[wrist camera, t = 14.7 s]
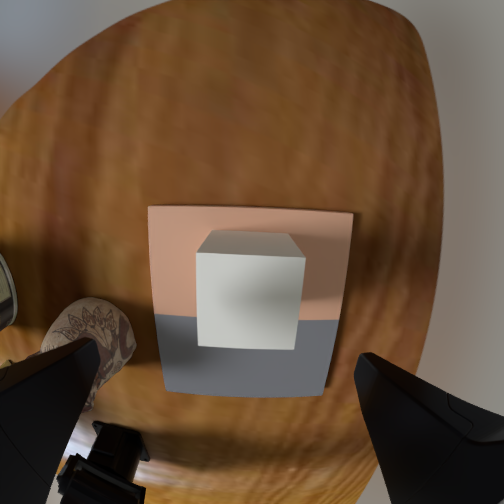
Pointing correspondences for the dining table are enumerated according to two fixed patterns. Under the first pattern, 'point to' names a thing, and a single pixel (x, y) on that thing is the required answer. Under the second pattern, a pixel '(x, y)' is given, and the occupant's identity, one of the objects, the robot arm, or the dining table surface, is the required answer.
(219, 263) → the cream block
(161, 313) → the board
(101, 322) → the figurine
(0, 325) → the coffee can
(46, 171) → the dining table surface
